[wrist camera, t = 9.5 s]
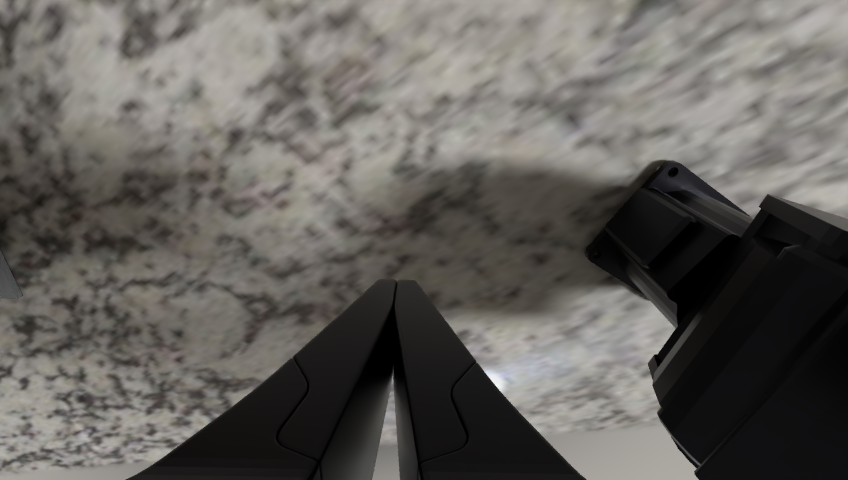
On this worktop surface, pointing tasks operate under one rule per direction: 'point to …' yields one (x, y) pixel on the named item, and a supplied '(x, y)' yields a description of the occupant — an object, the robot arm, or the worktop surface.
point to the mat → (7, 281)
